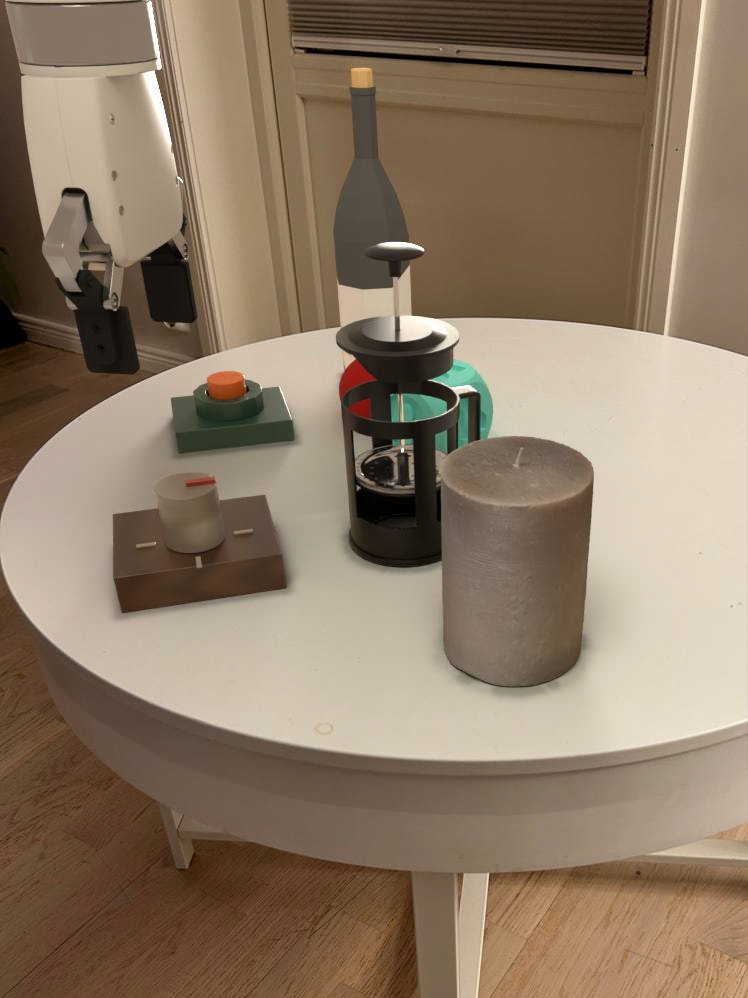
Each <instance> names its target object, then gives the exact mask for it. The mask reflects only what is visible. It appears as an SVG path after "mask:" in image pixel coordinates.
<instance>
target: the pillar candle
mask: <svg viewBox="0 0 748 998" xmlns="http://www.w3.org/2000/svg"><path fill="white" fill-rule="evenodd" d="M439 466H440V468H439V470H438V473H439V474H440V476H441V526H442V560H441V584H442V585H441V589H442V591H441V593H442V594H441V597H442V631H443V632H442V642H443V648H444V649H443V650H444V653H445V655H446V657H447V660H448V661H449V663H450V664H451V665H452V666H453V667H456V668H457V669H458V670H461V671H462V672H464V673H466V674H468V675H470V676H473V677H474V678H477V679H479V680H481V681H483V682H485V683H488V684H491V685H496V686H502V687H529V686H537V685H539V684H543V683H546V682H550V681H551V680H553V679H556V678H558V677H561V676H562V675H563V674H565V673H566V672H567V671H568V670H570V669H571V667H572V666H573V665H574V664H575V663H576V662H577V660H578V659H579V657H580V655H581V651H582V639H583V629H584V621H585V609H586V607H585V605H586V598H587V583H588V582H587V581H588V568H589V567H588V566H589V555H590V542H591V531H592V528H591V527H592V517H593V516H592V514H593V499H594V483H595V471H594V467H593V464H592V461H590V460H589V459H588V458H587V457H586V456H585V455H584V454H583V453H582V452H580V451H579V450H577V449H575V448H573V447H571V446H569V445H566V444H563V443H560V442H557V441H555V440H551V439H547V438H546V439H545V438H541V437H534V436H523V435H506V436H505V435H503V436H496V437H489V438H488V437H487V439H483V440H478V441H474V442H471V443H469V444H466V445H464V446H462V447H460V448H458V449H456V450H454V451H453V452H451V453H450V454H449V455H448V456H447V457H446V458H445V459H444V460H443V461H441V462H440V464H439Z"/></svg>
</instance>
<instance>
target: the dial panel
mask: <svg viewBox="0 0 748 998" xmlns="http://www.w3.org/2000/svg"><path fill="white" fill-rule="evenodd" d="M219 501H220V508H221V514H222V520H223V526H224V532H225V538H224V540H223V541H222V543H221V544H219V545H218V546H216V547H215V548H213V549H210V550H207V551H204V552H199V553H180V552H176V551H173V550H171V549H170V548H168V547H167V545H166V543H165V538H164V533H163V528H162V524H161V519H160V514H159V509H158V507H156V508H148V509H142V510H133V511H127V512H119V513H117V512H116V513H112V568H113V569H112V577H113V583H114V587H115V591H116V596H117V600H118V603H119V608H120V612H121V613H129V612H134V611H135V612H136V611H142V610H143V611H144V610H149V609H155V608H162V607H168V606H174V605H175V606H176V605H183V604H188V603H189V604H190V603H195V602H201V601H208V600H215V599H223V598H229V597H234V596H242V595H247V594H255V593H261V592H268V591H275V590H282V589H286V588H287V582H286V575H285V566H284V558H283V553H282V548H281V545H280V541H279V538H278V535H277V531H276V527H275V524H274V523H275V522H274V520H273V516H272V512H271V508H270V505H269V502H268V498H267V495H266V494H258V495H251V496H243V497H236V498H234V497H233V498H227V499H219Z"/></svg>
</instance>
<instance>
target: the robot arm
mask: <svg viewBox="0 0 748 998" xmlns="http://www.w3.org/2000/svg"><path fill="white" fill-rule="evenodd" d="M4 1H5V2H4V6H5V9H6V13H7V18H8V22H9V27H10V30H11V36H12V40H13V44H14V48H15V52H16V56H17V60H18V65H19V69H20V73H21V74H23V75H21V76H20V83H21V85H20V86H21V103H22V113H23V124H24V133H25V140H26V147H27V152H28V153H27V154H28V159H29V164H30V171H31V177H32V182H33V188H34V194H35V198H36V203H37V204H36V205H37V209H38V214H39V218H40V223H41V228H42V232H43V241H42V245H41V252H42V254H43V257H44V259H45V260H46V262H47V265H48V266H49V268H50V269H51V271H52V273H53V275H54V276H55V279H54V281H55V284H56V286H57V288H58V290H59V291H60V292H61V293H62V294H63V295H64V297H65V302H66V305H67V307H68V309H70V310H72V312H73V315H74V318H75V323H76V328H77V331H78V335H79V340H80V345H81V349H82V353H83V357H84V361H85V366H86V368H87V370H88V371H89V372H91V373H94V374H107V375H108V374H110V375H112V374H113V375H129V376H133V375H135V374H137V373H138V372H139V371H140V369H141V364H140V359H139V355H138V350H137V345H136V340H135V335H134V330H133V326H132V321H131V315H130V311H129V306H128V305H127V306H126V305H121V298H122V289H123V281H124V273H125V268H128V267H130V266H132V265H134V264H136V263H137V262H139V264H140V269H141V275H142V279H143V285H144V290H145V296H146V299H147V306H148V311H149V317H150V319H151V320H152V321H153V322H156V323H174V324H175V323H176V324H193V323H195V321H197V319H198V311H197V310H198V309H197V305H196V299H195V293H194V286H193V280H192V274H191V268H190V267H191V266H190V262H189V261H188V260H189V258H190V245H189V244H188V241H187V240H186V238H185V232H186V227H187V226H188V222H187V220H188V219H187V217H186V216H185V213H184V192H185V191H184V189H185V188H184V183H183V180H182V179H181V178H180V177H179V175H178V171H177V165H176V160H175V155H174V149H173V144H172V139H171V136H170V130H169V127H168V126H169V125H168V122H167V117H166V113H165V109H164V103H163V100H162V96H161V92H160V89H159V84H158V81H157V77H156V73H155V71H159V70H161V69H162V62H161V57H160V51H159V50H160V49H159V45H158V38H157V32H156V25H155V20H154V14H153V7H152V2H151V0H4ZM144 258H145V259H144ZM92 271H102V272H103V271H104V273H103V283H102V282H100V280H99V279H98V278H97V277H96V276H95V275H94V274H93V272H92Z"/></svg>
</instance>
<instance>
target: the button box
mask: <svg viewBox="0 0 748 998" xmlns="http://www.w3.org/2000/svg"><path fill="white" fill-rule="evenodd" d="M245 384H246V391H247V394H246V395H243V396H240V397H237V398H233V399H215V398H211V397H209V392H208V385H207V382H205V383H201V384H200V385H199V386H197V387H196V388H195V389H194V390H192V395H183V396H174V397H170V405H171V412H172V419H173V427H174V428H173V429H174V434H175V435H174V436H175V439H176V446H177V451H178V454H179V455H181V454H182V455H183V454H189V453H199V452H206V451H215V450H223V449H233V448H240V447H250V446H259V445H266V444H267V445H269V444H274V443H275V444H276V443H285V442H293V441H295V431H294V429H295V428H294V421H293V418H292V416H291V415H292V414H291V413H290V410H289V407H288V404H287V402H286V399H285V396H284V393H283V391H282V388H281V386H271V387H262V386H261V384H260V383H258V382H255V381H253V380H251V379H245Z"/></svg>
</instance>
